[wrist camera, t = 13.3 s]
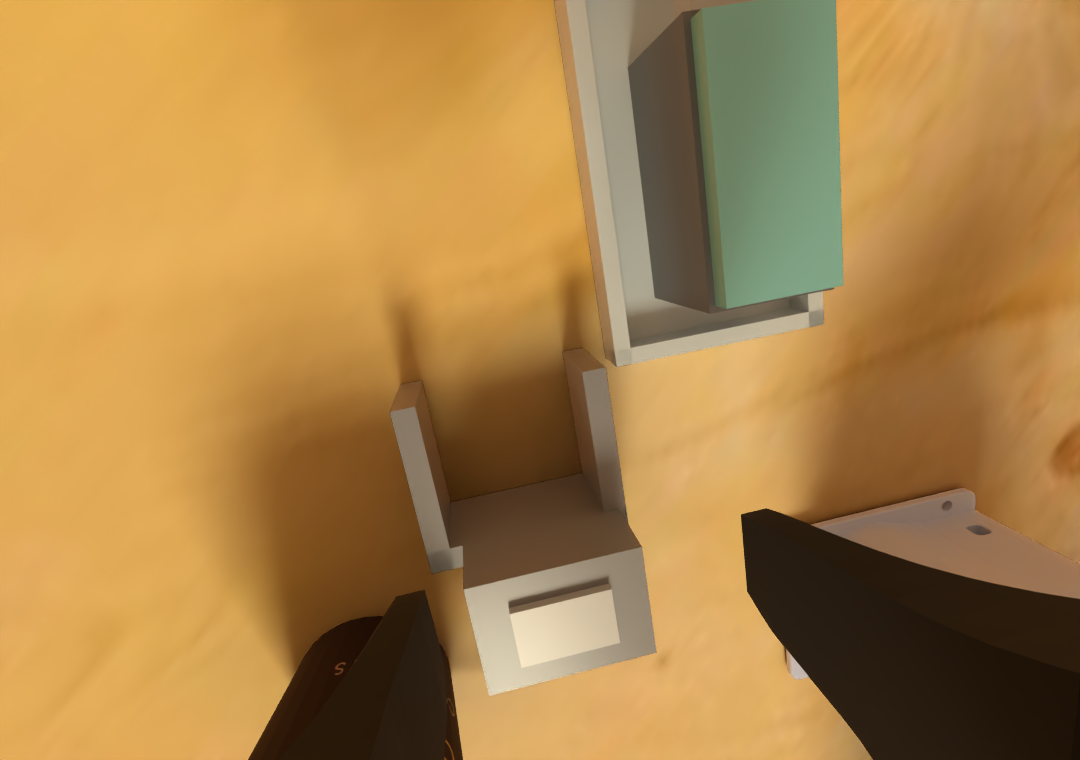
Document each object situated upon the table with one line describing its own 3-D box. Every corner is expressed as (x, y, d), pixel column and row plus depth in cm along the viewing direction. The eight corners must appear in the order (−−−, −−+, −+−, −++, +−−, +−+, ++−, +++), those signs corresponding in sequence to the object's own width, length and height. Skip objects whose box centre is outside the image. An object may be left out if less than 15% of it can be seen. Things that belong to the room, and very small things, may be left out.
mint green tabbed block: (735, 18, 19) (841, -67, 14) (753, 278, 21) (849, 290, 16) (623, 34, 19) (689, -46, 13) (654, 298, 21) (720, 317, 16)
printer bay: (582, 347, 22) (631, 389, 16) (614, 552, 24) (666, 657, 18) (400, 384, 21) (377, 442, 15) (452, 591, 23) (450, 713, 17)
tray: (781, -56, 19) (809, -82, 18) (799, 318, 23) (823, 324, 21) (550, -25, 18) (558, -49, 17) (605, 358, 22) (616, 367, 20)
